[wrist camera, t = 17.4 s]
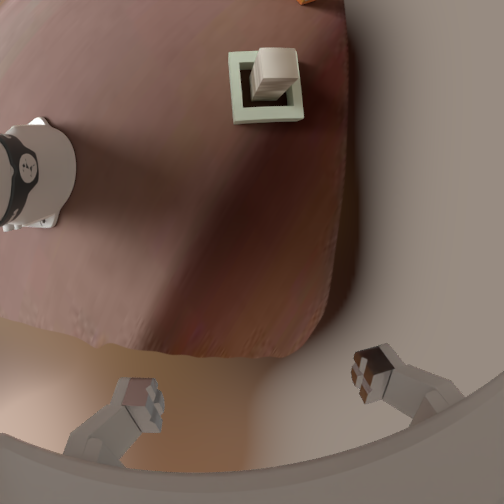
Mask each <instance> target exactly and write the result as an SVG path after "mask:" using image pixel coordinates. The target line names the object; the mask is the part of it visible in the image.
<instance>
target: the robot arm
mask: <svg viewBox="0 0 504 504" xmlns="http://www.w3.org/2000/svg"><path fill="white" fill-rule="evenodd" d="M75 176H76V159H75V154H74V150H73V147H72V145H71V143H70V141H69V139H68V138H67V137H66V135H65V134H63V133H62V132H61V131H59V130H57V129H55V128H53V127H51V126H50V125H49V124H48V122H47V121H46V119H45V118H44V117H37V118H35V119H34V120H32V121H31V122H30V123H29V124H27V125H14V126H12V127H11V129H10V130H8V131H7V132H6V133H5V134H0V227H2V226H3V230H4V232H7V231H11V230H13V229H14V228H15V229H21V228H22V227H39V228H51V227H54V226H55V224H56V222H57V219H58V215H59V211H60V209H61V208H62V206H63V205H64V204H65V202H66V201H67V199H68V198H69V196H70V194H71V191H72V189H73V186H74V182H75ZM44 219H45V221H44ZM353 359H354V361H355V364H354V365H353V366H352V369H351V378H352V381H353V383H354V385H355V387H357V388H359V389H360V392H359V395H360V396H361V398H362V400H363V402H364V404H369V403H372V402H375V401H378V400H382V399H383V401H385V402H386V403H388V404H389V405H391V406H393V407H394V408H396V409H398V410H399V411H401V412H402V413H404V414H406V415H407V416H409V417H411V418H413V420H412V422H411V424H410V425H409V427H408V428H406V429H404V430H402V431H400V432H397V433H395V434H392V435H390V436H387V437H385V438H382V439H379V440H377V441H374V442H371V443H368V444H365V445H363V446H359V447H357V448H353V449H350V450H347V451H343V452H340V453H336V454H333V455H329V456H325V457H321V458H317V459H312V460H308V461H303V462H298V463H293V464H288V465H282V466H277V467H270V468H262V469H254V470H244V471H232V472H213V473H178V472H160V471H148V470H137V469H130V468H126V467H125V466H124V465H123V464H122V463H121V462H120V461H119V459H120V458H121V457H122V456H123V455H124V453H125V452H126V451H127V450H128V449H129V448H130V446H131V445H132V444H133V443H134V442H135V441H136V440H137V438H138V437H139V436H140V435H141V432H148V433H160V432H161V427H162V419H161V417H160V415H161V414H162V413H163V412H164V398H163V395H162V392H161V391H160V390H158V389H157V387H158V383H157V382H156V379H154V378H127V377H126V378H125V377H121V378H120V379H119V380H118V383H117V386H116V388H115V391H114V394H113V397H112V400H111V402H110V405H106V406H104V407H103V408H102V409H100V410H99V411H98V412H97V413H95V414H94V415H93V416H92V417H90V418H89V419H88V420H86V421H85V422H84V423H83V424H81V425H80V426H79V427H77V428H76V429H75V430H74V431H72V432H71V433H70V436H69V439H68V441H67V444H66V447H65V450H64V453H63V454H60V453H56V452H53V451H50V450H47V449H44V448H41V447H38V446H35V445H32V444H29V443H27V442H24V441H22V440H20V439H17V438H15V437H12V436H10V435H8V434H5V433H0V504H504V371H503V372H502V373H500V374H499V375H498V376H497V377H495V378H494V379H492V380H491V381H490V382H488V383H487V384H485V385H484V386H482V387H481V388H479V389H478V390H476V391H475V392H473V393H472V394H470V395H469V396H467V397H464V395H463V394H462V393H461V392H460V391H459V389H458V388H457V387H456V386H455V385H454V383H453V382H452V381H451V380H448V379H446V378H443V377H440V376H438V375H435V374H432V373H430V372H427V371H425V370H422V369H419V368H417V367H414V366H412V365H405V363H404V362H403V361H402V360H401V358H400V357H399V356H398V355H397V353H396V352H395V351H394V350H393V349H392V347H391V346H390V345H389V344H388V343H385V344H382V345H378V346H376V347H371V348H368V349H364V350H360V351H357V352H355V354H354V358H353Z"/></svg>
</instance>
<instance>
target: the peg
mask: <svg viewBox="0 0 504 504" xmlns="http://www.w3.org/2000/svg"><path fill="white" fill-rule="evenodd" d="M298 78H299V76H298V68H297V60H296V53H295V48H260V49H259V51H258V54H257V57H256V60H255V63H254V65H253V68H252V71H251V74H250V77H249V86H250V97H251V102H253V101H276V100H277V99H278V98H279V97H280V96H281V95H282V94H283V93H284V92H285V91H286V90H287V89H288V88H289V87H290V86H291V85H292V84H293V83H294V82H295V81H296V80H297V79H298Z"/></svg>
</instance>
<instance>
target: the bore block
mask: <svg viewBox="0 0 504 504" xmlns="http://www.w3.org/2000/svg"><path fill="white" fill-rule="evenodd" d="M295 53H296V60H297V68H298V76H299V78H298V79H297V80H296V81H295V82H294V83H293V84H292V85H291V86H290V87H289V88H288V89H287V90H286V95H287V106H269V107H248V108H243V101H242V90H241V79H240V70H252V68H253V65H254V63H255V60H256V57H257V54H258V51H242V52H229V56H228V65H229V77H230V89H231V100H232V112H233V123H234V124H246V123H262V122H290V121H299V120H301V119H303V118H304V112H303V102H302V92H301V83H300V75H299V67H298V59H297V52H296V51H295Z"/></svg>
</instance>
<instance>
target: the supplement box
mask: <svg viewBox="0 0 504 504" xmlns="http://www.w3.org/2000/svg"><path fill="white" fill-rule="evenodd" d="M297 1H298V2H299V3H300V5H303V4H306V3H309V2H313V1H316V0H297Z"/></svg>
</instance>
